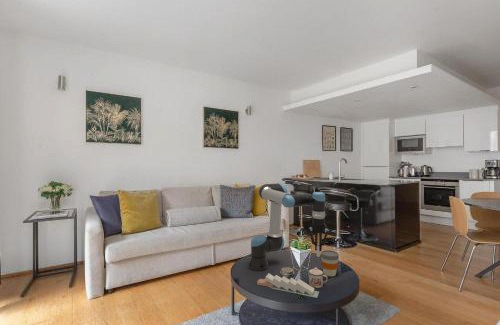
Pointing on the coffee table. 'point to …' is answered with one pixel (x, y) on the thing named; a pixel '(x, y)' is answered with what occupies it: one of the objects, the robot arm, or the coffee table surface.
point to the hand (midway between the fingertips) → (318, 255)
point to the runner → (315, 293)
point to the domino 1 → (264, 283)
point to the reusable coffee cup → (329, 262)
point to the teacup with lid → (316, 278)
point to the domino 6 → (305, 287)
